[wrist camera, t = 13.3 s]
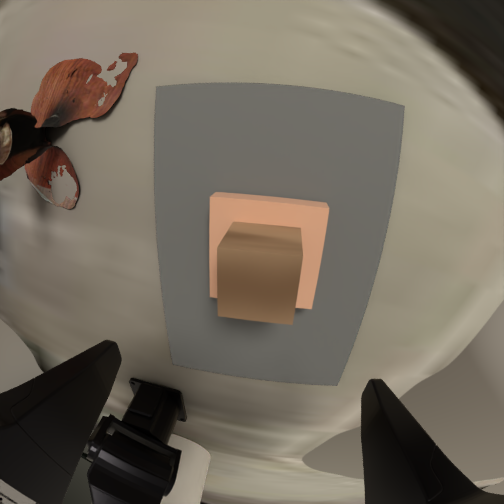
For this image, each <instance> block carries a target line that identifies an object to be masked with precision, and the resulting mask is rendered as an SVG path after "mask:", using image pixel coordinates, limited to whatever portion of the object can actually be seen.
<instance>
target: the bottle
mask: <svg viewBox="0 0 504 504" xmlns="http://www.w3.org/2000/svg"><path fill="white" fill-rule="evenodd" d="M168 445H169V446H171V447H173V448H175V449H179V450H182V453H181V458H180V463H179V468H178V473H177V477H176V481H175V484H174V486H173V488H172V490H171V492H170V493H169V495H168V496H166V497H165V496H163V498H162V500H161V503H160V504H200V500H201V496H202V492H203V488H204V484H205V480H206V476H207V472H208V468H209V463H210V459H211V455H210V454H209V452H208V451H207V450H206V449H204V448H203V447H202V446H200V445H198V444H197V443H195V442H193V441H191V440H188V439H186V438H183V437H181V436H178V435H175V434H171V437H170V439H169V442H168Z"/></svg>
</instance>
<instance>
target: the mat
mask: <svg viewBox="0 0 504 504" xmlns="http://www.w3.org/2000/svg"><path fill="white" fill-rule="evenodd" d="M404 108H405V106H403V105H400V104H396V103H392V102H388V101H384V100H380V99H375V98H371V97H366V96H361V95H356V94H351V93H345V92H339V91H333V90H326V89H319V88H311V87H302V86H292V85H280V84H264V83H195V84H180V85H168V86H158V87H156V100H155V122H154V195H155V218H156V234H157V248H158V260H159V271H160V280H161V289H162V298H163V306H164V313H165V320H166V327H167V334H168V340H169V346H170V352H171V358H172V363H173V365H178V366H182V367H187V368H192V369H197V370H202V371H207V372H213V373H219V374H225V375H231V376H237V377H244V378H251V379H259V380H267V381H277V382H287V383H298V384H312V385H332V386H337V385H338V383H339V381H340V378H341V376H342V373H343V371H344V368H345V366H346V363H347V361H348V358H349V356H350V353H351V350H352V348H353V345H354V342H355V339H356V337H357V334H358V331H359V328H360V325H361V322H362V319H363V316H364V313H365V310H366V307H367V304H368V300H369V297H370V294H371V290H372V287H373V284H374V280H375V276H376V273H377V269H378V265H379V262H380V258H381V254H382V250H383V245H384V241H385V237H386V232H387V228H388V223H389V218H390V213H391V208H392V203H393V198H394V192H395V186H396V180H397V173H398V166H399V159H400V151H401V142H402V133H403V122H404ZM215 192H225V193H238V194H250V195H261V196H272V197H282V198H291V199H300V200H309V201H317V202H325V203H327V204H328V206H329V215H328V222H327V228H326V234H325V241H324V247H323V252H322V258H321V264H320V269H319V275H318V280H317V285H316V290H315V295H314V300H313V305H312V309H304V308H295V313H294V319H293V325H288V324H278V323H269V322H260V321H252V320H243V319H236V318H228V317H221V316H218V304H217V298H213V297H210V270H209V224H210V196H211V195H213V194H214V193H215Z"/></svg>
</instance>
